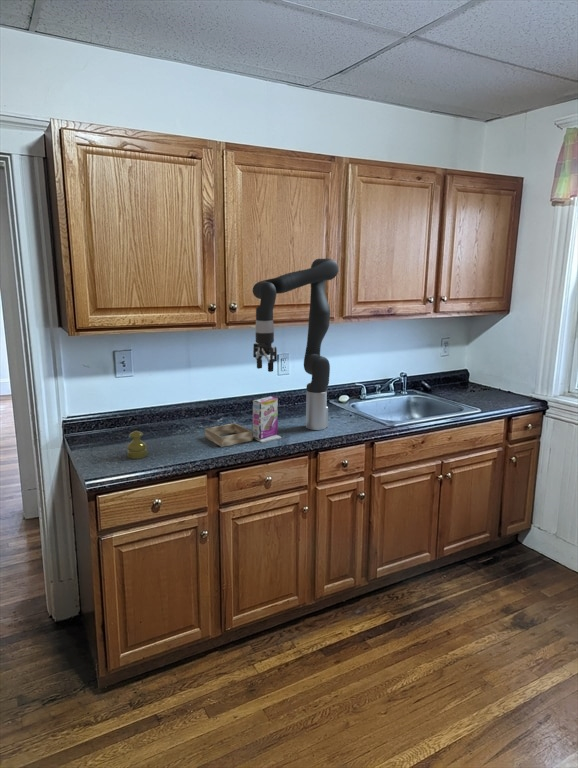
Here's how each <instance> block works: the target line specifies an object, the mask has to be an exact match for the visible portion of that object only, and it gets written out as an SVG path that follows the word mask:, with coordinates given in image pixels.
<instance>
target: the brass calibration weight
mask: <svg viewBox="0 0 578 768" xmlns="http://www.w3.org/2000/svg"><path fill="white" fill-rule="evenodd" d="M128 435H129V437H130V438H132V440H131V441H130V442H129V443H128V444H127V446H126V450H127V451H126V452H127V454H126V455H127V458H129V459H131V460H139V459H143V458H146V457H147V456H148V449H147V448H148V446H147V443H146V442H144V441H143V440H141V437H142V436H143V432H142V431H140V430H139V431H138V430H134V431H132V432H130V433H129V434H128Z"/></svg>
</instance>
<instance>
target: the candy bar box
mask: <svg viewBox="0 0 578 768" xmlns="http://www.w3.org/2000/svg"><path fill="white" fill-rule="evenodd" d="M278 416H279V398H278V397H276V396H275V397H274V396H272V395H271V396H266V397H263V398H259V399H258V398H257V399H254V400H252V430H251V431H252V437H253V438H256V439H259V440H261V439H264V438H267V437H270V436H273V435H278V424H279V423H278V420H279V419H278ZM253 438H252V439H253Z"/></svg>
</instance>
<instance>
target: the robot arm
mask: <svg viewBox="0 0 578 768" xmlns="http://www.w3.org/2000/svg"><path fill="white" fill-rule="evenodd" d="M338 273H339V264H338V263H337V261H335V260H334V259H332V258H317V259H314V261H313V262H311V266H310V268H306V269H301V270H296V271H292V272H288V273H285V274H282V275H280V276H277V277H274V278H273V277H272V278H267V279H264V280H260V281H258V282H256V283H255V284H254V285H253V287H252V294H253V296H254V298H255V297H256V299H259V300H260V301H259V302H260V303H259V305H258V306H257V307H256V309H255V343H253V352H252V353H253V358H255V360H256V369H262V368H263V359H262V358H263V357H264V358H265V359H266V360H267V371H268V372H270V373H272V372H274V363H275V362H278V359H277V358H278V355H277V351H278V350H277V347H276V346H272V344H273V343H274V341H275V334H274V332H275V330H274V329H275V326H274V325H275V324H274V307H275V305H276V304H275V303H276V298H277V294H284V293H288V292H290V291H293V290H296V289H299V288H301V287H304V286H307V285H310V296H309V297H310V300H309V302H310V303H309V314H308V324H307V325H308V326H307V327H308V329H307V340H306V341H307V342H306V348H305V353H304V357H303V358H304V359H303V370H304V371H305V372H306V374H308V375H311V381H310V382H309V383H307V384H306V392H305V393H306V397H305V398H306V400H305V403H306V404H305V428H306V429H308V430H311V431H313V430H314V431H320V430H321V431H322V430H325V429H326V428H328V427H329V407H328V406H327V405H328V404H327V403H328V402H327V401H328V400H327V398H328V396H327V395H328V394H327V393H328V387H329V384H330V383H329V382H330V373H331V365H330V361H329V359H328V358H327V357H325V356H322V355H321V347H322V342H323V340H324V338H325V336H326V335H327V332H328V330H329V327H330V322H331V310H330V304H329V302H328V299H327V294H326V282H327V281H332V280H334V279H335V278H336V277H337V276H338Z"/></svg>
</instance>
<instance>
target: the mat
mask: <svg viewBox="0 0 578 768" xmlns="http://www.w3.org/2000/svg"><path fill="white" fill-rule="evenodd" d="M253 439H254V440H256V441H258V442H260V443H266V442H270V441H275V440H280V439H282V436H280V435H278V434H276V435H273V436H270V437H267V438H264V439H261V440H259V439H256V438H253V437H252V440H253Z"/></svg>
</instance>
